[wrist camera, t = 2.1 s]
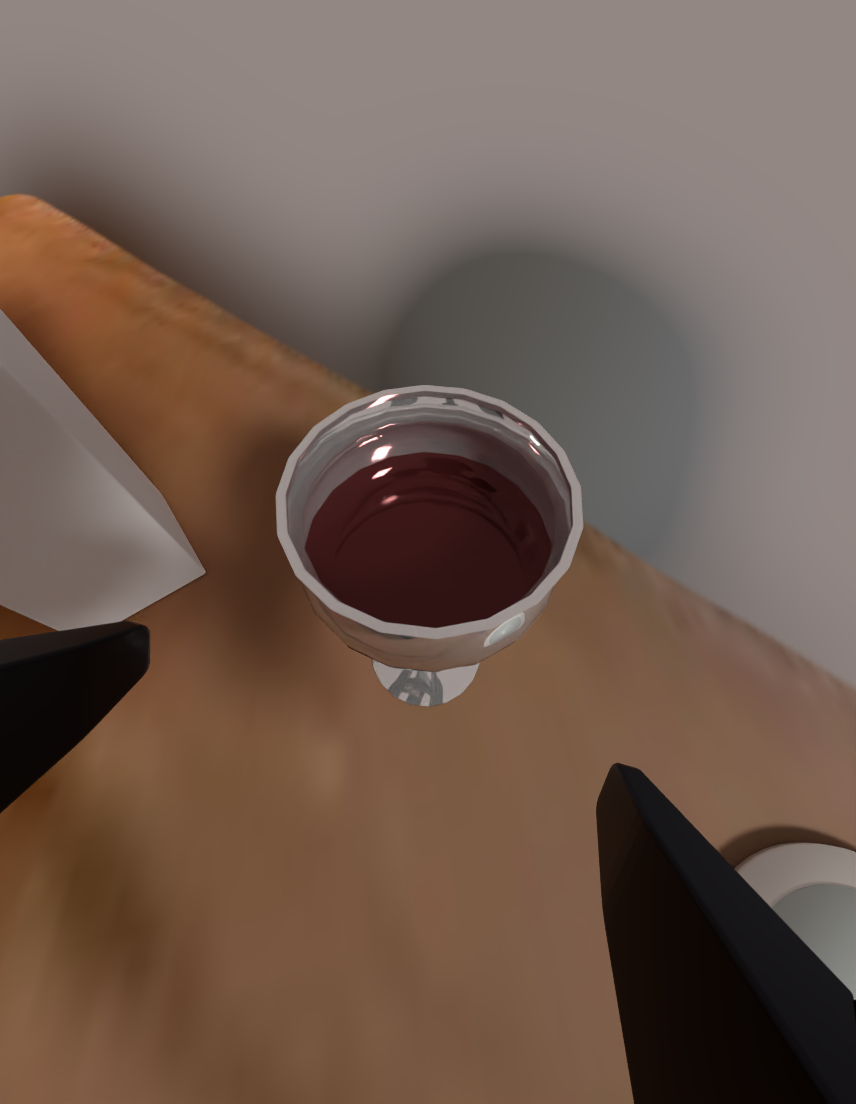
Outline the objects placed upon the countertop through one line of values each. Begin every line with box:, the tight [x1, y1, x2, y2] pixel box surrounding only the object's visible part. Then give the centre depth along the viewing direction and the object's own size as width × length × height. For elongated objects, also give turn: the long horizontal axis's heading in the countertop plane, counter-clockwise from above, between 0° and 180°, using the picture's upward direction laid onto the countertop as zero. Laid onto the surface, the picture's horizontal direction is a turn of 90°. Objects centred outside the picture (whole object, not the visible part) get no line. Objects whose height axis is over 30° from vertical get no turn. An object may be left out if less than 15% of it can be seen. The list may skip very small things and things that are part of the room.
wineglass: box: [276, 385, 583, 706], centre depth 15 cm, size 7×7×12 cm
